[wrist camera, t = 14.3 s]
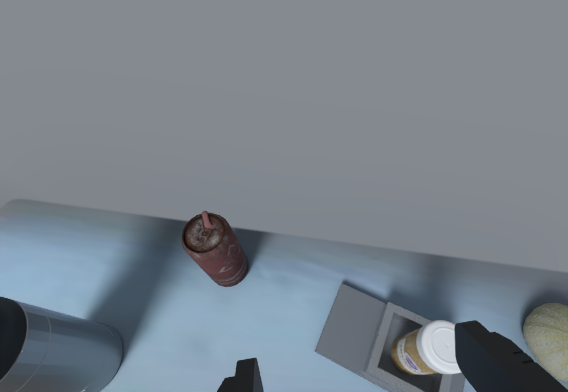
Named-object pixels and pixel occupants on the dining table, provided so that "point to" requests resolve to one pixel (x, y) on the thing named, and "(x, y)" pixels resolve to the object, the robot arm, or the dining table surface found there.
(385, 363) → the slate board
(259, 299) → the dining table surface
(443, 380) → the collar
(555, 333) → the sea urchin shell
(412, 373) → the sprinkles bottle
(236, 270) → the can
